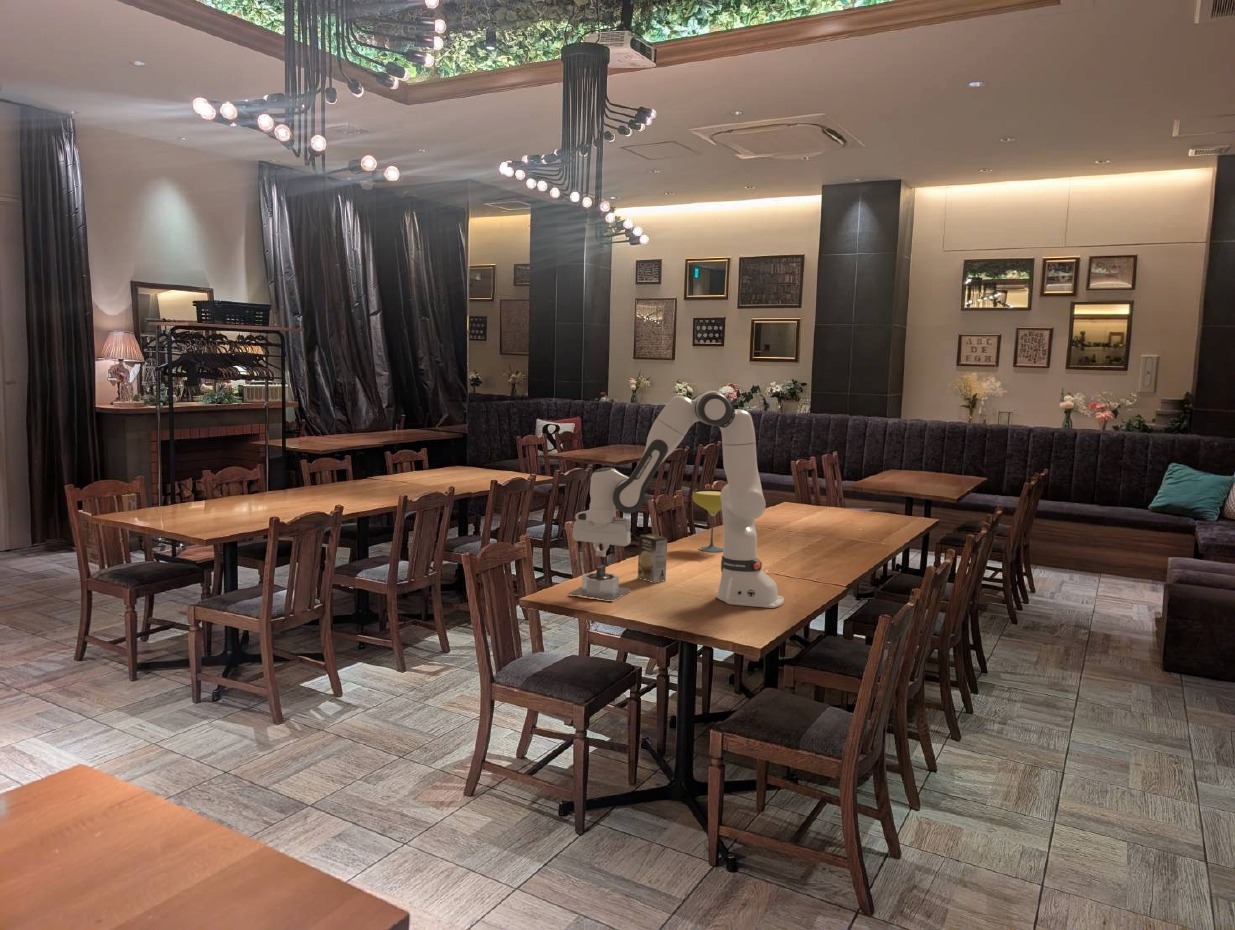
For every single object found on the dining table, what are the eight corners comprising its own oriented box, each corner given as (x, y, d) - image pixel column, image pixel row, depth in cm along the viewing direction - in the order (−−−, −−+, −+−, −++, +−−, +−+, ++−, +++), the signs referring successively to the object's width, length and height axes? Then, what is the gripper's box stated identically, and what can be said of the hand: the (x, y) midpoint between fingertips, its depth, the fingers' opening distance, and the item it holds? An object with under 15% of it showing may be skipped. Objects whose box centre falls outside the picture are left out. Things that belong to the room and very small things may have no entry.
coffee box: (636, 578, 320) (638, 535, 319) (649, 576, 324) (650, 533, 323) (653, 583, 313) (655, 539, 312) (666, 581, 318) (668, 537, 316)
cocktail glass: (682, 546, 381) (684, 489, 378) (718, 544, 388) (720, 488, 386) (703, 555, 364) (706, 495, 362) (740, 552, 372) (743, 494, 369)
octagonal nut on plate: (630, 591, 301) (631, 574, 300) (612, 602, 286) (612, 584, 285) (588, 585, 307) (589, 569, 306) (568, 596, 292) (568, 578, 292)
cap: (612, 580, 298) (612, 565, 297) (605, 583, 292) (605, 569, 292) (595, 577, 300) (596, 563, 299) (588, 581, 294) (589, 567, 294)
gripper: (634, 517, 292) (632, 558, 294) (579, 511, 300) (578, 551, 302) (627, 520, 287) (625, 561, 288) (571, 514, 294) (569, 554, 296)
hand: (600, 556), depth 295 cm, fingers closed
